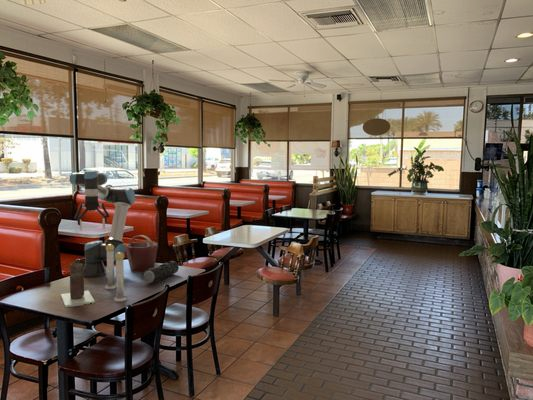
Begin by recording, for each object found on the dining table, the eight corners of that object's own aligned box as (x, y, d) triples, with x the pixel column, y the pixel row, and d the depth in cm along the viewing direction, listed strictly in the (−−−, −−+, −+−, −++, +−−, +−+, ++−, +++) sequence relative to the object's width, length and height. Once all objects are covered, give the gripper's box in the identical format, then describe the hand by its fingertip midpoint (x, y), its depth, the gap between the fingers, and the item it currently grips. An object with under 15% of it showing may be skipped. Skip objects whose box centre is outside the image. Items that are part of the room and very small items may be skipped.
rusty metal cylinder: (73, 295, 246) (72, 261, 244) (86, 295, 246) (85, 261, 244) (68, 299, 238) (67, 265, 236) (81, 299, 239) (80, 264, 237)
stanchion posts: (115, 302, 237) (114, 254, 235) (103, 287, 265) (102, 243, 262) (128, 300, 241) (127, 252, 238) (115, 285, 269) (114, 242, 266)
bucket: (122, 267, 313) (122, 234, 310) (151, 263, 326) (150, 231, 324) (134, 275, 293) (134, 240, 291) (164, 270, 307) (164, 236, 304)
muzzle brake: (179, 275, 295) (179, 261, 294) (154, 286, 269) (154, 270, 268) (167, 273, 299) (167, 259, 298) (142, 284, 273) (142, 268, 272)
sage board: (65, 307, 229) (65, 305, 229) (60, 296, 247) (60, 294, 247) (94, 303, 237) (94, 300, 237) (88, 292, 255) (88, 290, 255)
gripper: (70, 196, 251) (71, 232, 253) (113, 195, 264) (114, 228, 266) (68, 195, 257) (69, 230, 259) (111, 194, 270) (112, 227, 273)
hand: (92, 229), depth 263 cm, fingers open, 13 cm apart
